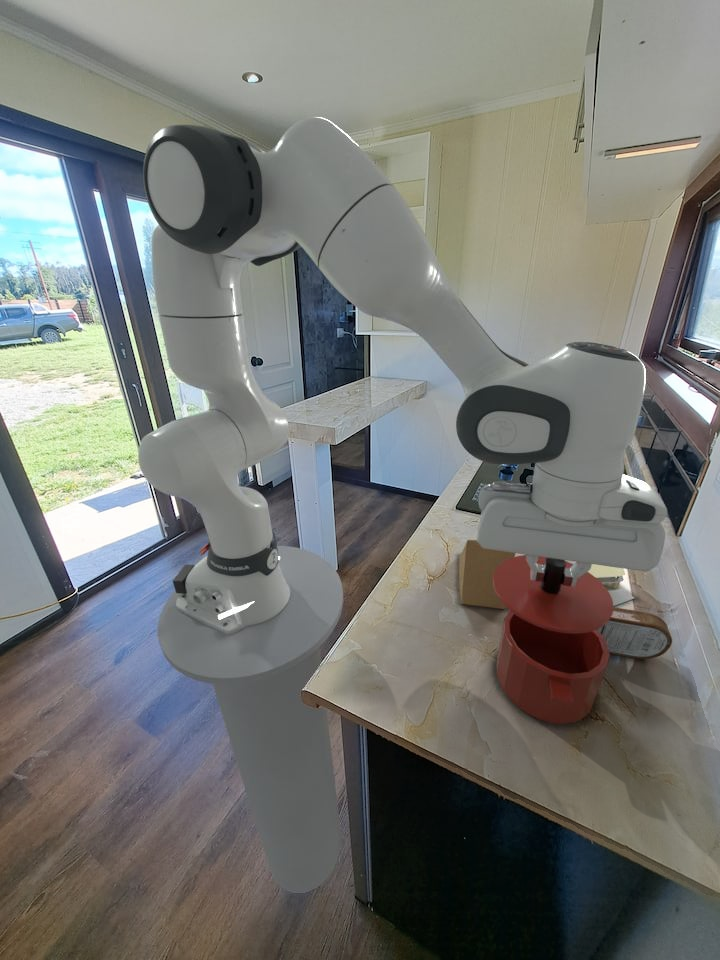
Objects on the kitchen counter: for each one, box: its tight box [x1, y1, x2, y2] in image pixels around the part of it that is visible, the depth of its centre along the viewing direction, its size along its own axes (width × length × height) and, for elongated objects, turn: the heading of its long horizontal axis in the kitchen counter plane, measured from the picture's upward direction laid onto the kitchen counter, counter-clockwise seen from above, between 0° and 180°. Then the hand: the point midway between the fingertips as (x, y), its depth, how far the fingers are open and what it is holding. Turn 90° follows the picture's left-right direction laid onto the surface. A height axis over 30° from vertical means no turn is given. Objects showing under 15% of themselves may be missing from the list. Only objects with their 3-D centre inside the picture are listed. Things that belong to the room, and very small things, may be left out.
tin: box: [597, 606, 673, 660], centre depth 62 cm, size 15×3×8 cm, turn 73°
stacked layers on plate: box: [588, 564, 635, 607], centre depth 75 cm, size 10×9×6 cm
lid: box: [493, 554, 614, 634], centre depth 51 cm, size 15×15×6 cm
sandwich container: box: [458, 539, 516, 610], centre depth 77 cm, size 9×15×15 cm, turn 168°
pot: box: [495, 610, 611, 725], centre depth 57 cm, size 14×19×10 cm
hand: (551, 580), depth 51 cm, fingers closed on lid, 2 cm apart
